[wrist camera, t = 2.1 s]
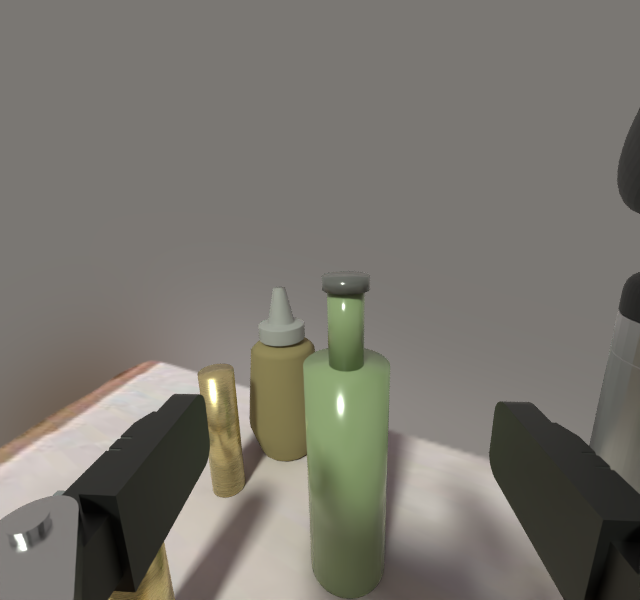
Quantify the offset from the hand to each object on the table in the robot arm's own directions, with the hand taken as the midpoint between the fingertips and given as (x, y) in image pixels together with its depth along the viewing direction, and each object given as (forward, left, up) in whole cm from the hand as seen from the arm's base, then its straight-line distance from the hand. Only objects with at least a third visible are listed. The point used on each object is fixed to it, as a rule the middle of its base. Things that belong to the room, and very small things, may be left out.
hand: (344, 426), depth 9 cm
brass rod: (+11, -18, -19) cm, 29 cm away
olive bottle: (0, -11, -19) cm, 23 cm away
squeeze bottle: (+6, -24, -20) cm, 32 cm away
